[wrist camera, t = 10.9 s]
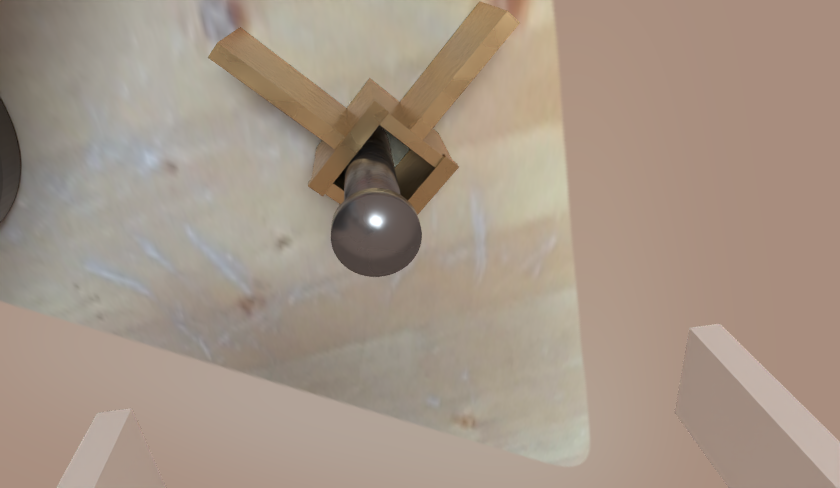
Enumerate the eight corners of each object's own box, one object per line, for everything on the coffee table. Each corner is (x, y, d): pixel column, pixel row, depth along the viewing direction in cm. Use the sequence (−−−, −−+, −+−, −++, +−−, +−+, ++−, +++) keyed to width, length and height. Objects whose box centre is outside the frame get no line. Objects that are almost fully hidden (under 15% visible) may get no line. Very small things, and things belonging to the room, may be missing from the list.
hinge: (209, 73, 31) (179, 99, 25) (343, -129, 27) (342, -151, 22) (385, 198, 35) (392, 243, 30) (519, 39, 32) (554, 56, 26)
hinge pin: (340, 174, 34) (338, 282, 23) (331, 116, 33) (324, 201, 21) (399, 167, 35) (424, 270, 23) (393, 109, 33) (417, 190, 22)
